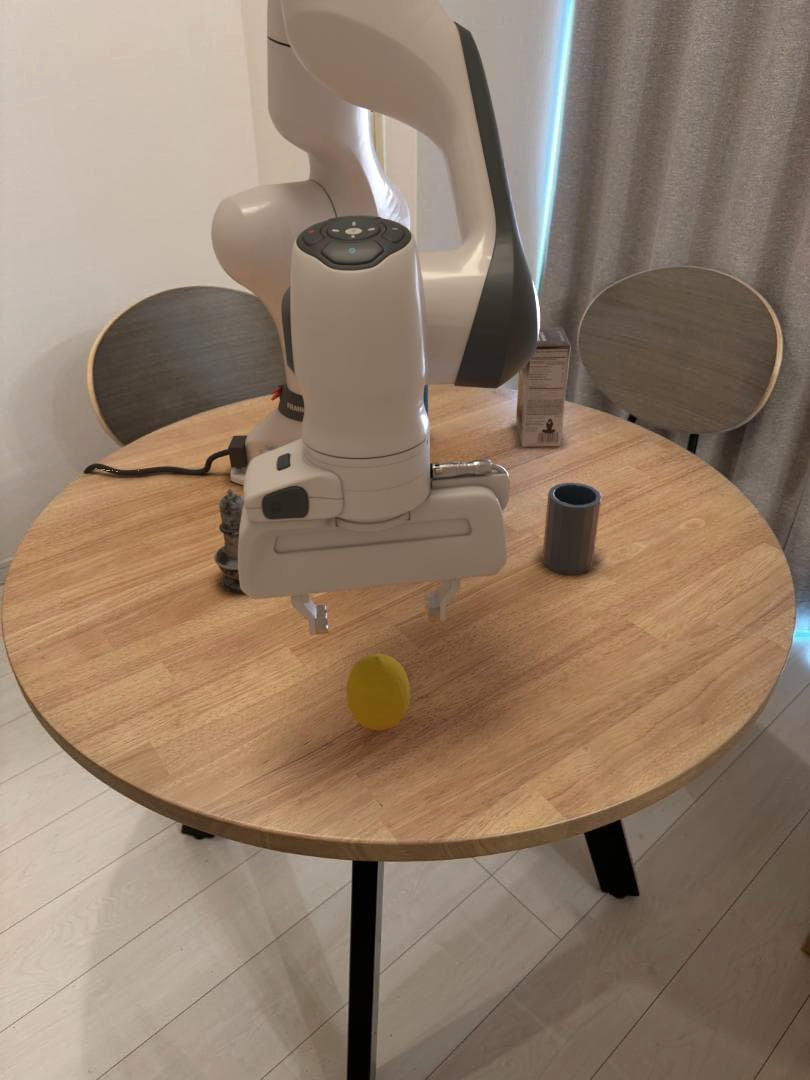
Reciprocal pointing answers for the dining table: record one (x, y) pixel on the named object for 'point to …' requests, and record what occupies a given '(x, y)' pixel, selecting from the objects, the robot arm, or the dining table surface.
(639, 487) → the dining table surface
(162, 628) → the dining table surface
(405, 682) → the lemon
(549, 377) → the coffee box
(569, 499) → the cup
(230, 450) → the robot arm
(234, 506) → the grey chess piece
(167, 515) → the dining table surface
